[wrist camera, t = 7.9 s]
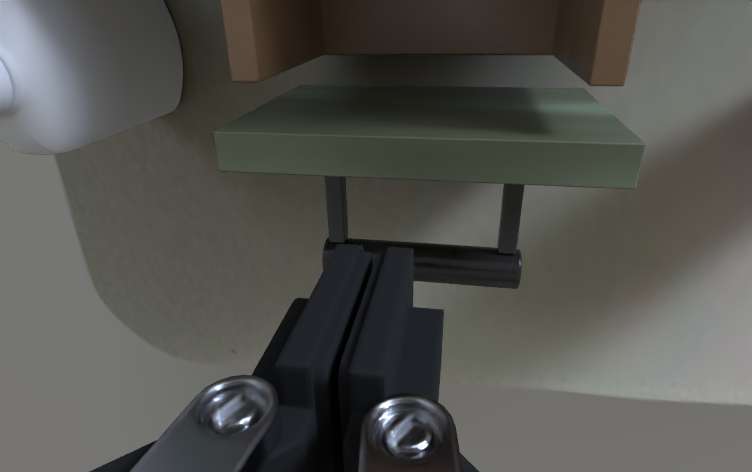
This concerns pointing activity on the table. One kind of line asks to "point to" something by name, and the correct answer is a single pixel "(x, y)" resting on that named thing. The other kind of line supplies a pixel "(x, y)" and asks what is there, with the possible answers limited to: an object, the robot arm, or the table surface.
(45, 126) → the eye dropper bottle
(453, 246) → the drawer
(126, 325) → the table surface
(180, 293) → the table surface
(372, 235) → the table surface
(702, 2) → the table surface
